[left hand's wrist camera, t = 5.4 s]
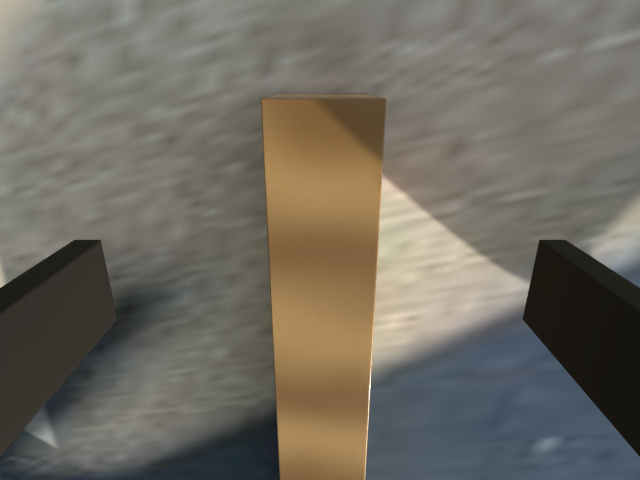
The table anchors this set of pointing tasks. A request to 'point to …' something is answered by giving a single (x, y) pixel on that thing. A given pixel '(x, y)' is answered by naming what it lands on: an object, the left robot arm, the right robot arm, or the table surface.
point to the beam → (323, 274)
